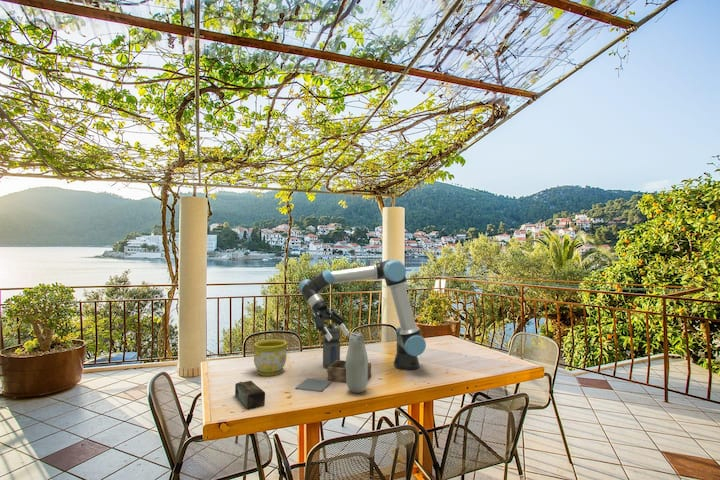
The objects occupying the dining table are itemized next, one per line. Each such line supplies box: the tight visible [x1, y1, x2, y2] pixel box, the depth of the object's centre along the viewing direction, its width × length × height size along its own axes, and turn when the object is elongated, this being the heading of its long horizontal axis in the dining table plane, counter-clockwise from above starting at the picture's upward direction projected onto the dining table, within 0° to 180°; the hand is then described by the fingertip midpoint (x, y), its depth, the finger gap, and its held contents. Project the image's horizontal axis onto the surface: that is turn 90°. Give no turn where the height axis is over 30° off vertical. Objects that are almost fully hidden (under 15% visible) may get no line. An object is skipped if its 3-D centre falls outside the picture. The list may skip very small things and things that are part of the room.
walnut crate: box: [326, 359, 372, 384], centre depth 187 cm, size 20×14×7 cm
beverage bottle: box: [322, 323, 341, 369], centre depth 208 cm, size 10×13×25 cm
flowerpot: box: [253, 338, 288, 377], centre depth 197 cm, size 18×18×16 cm
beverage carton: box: [234, 380, 266, 410], centre depth 157 cm, size 8×19×7 cm, turn 35°
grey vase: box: [345, 331, 369, 394], centre depth 168 cm, size 10×10×28 cm
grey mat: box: [295, 378, 333, 393], centre depth 176 cm, size 14×14×1 cm
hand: (339, 337), depth 175 cm, fingers open, 13 cm apart
